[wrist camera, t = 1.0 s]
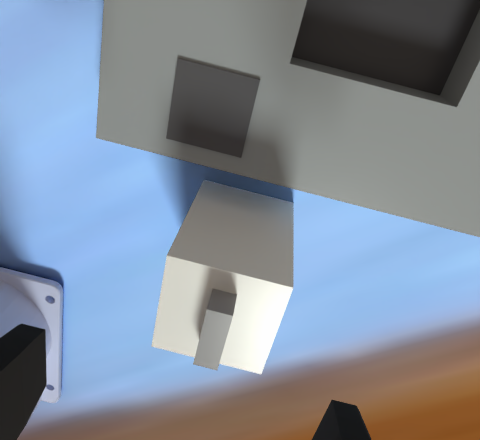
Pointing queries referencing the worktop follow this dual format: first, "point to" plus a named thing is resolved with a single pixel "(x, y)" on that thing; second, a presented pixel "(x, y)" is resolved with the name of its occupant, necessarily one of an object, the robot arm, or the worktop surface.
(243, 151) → the plate
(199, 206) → the charger
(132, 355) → the worktop surface
